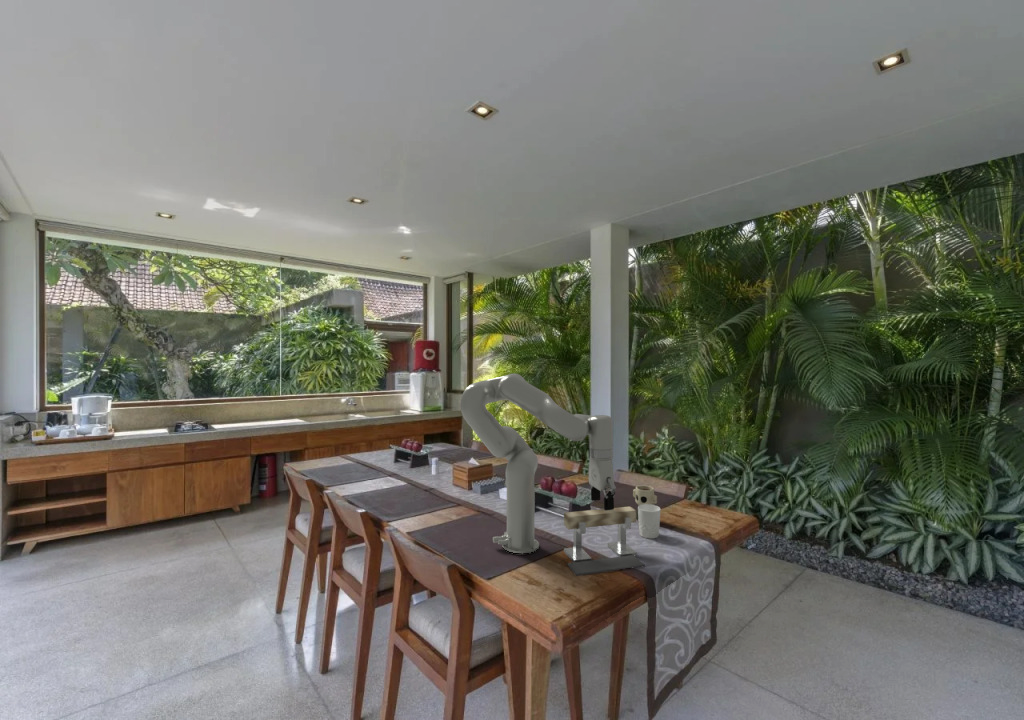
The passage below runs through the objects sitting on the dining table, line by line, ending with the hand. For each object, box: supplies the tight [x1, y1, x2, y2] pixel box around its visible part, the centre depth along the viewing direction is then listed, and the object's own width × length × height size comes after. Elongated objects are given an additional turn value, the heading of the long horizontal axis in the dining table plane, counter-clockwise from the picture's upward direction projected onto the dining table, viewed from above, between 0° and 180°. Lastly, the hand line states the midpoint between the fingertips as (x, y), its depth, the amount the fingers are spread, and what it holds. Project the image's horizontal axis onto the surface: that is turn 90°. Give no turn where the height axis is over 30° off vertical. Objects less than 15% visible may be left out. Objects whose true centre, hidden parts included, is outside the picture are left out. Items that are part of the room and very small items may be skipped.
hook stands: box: [563, 516, 638, 563], centre depth 154 cm, size 22×9×12 cm, turn 105°
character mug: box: [632, 484, 658, 521], centre depth 184 cm, size 11×7×13 cm, turn 38°
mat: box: [567, 555, 646, 576], centre depth 146 cm, size 23×7×1 cm, turn 105°
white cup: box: [637, 504, 661, 539], centre depth 170 cm, size 8×8×10 cm
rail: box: [563, 506, 637, 530], centre depth 154 cm, size 24×4×4 cm, turn 105°
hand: (602, 504), depth 154 cm, fingers open, 9 cm apart
